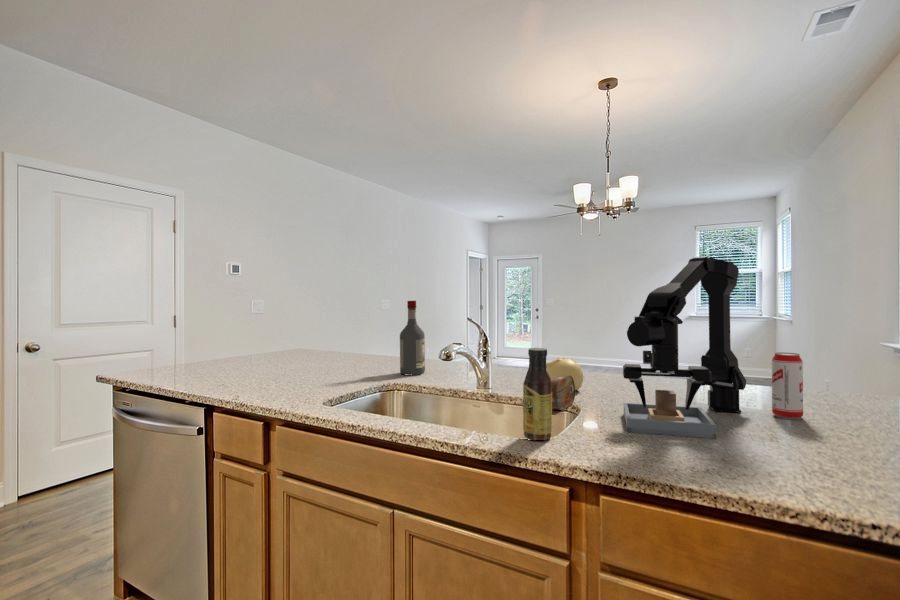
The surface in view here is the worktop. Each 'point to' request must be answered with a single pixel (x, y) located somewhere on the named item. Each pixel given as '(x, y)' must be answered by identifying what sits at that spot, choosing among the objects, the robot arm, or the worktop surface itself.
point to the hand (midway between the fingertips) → (665, 408)
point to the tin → (562, 392)
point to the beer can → (787, 385)
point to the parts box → (669, 421)
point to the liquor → (412, 345)
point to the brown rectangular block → (665, 402)
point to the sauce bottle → (537, 397)
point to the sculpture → (565, 370)
